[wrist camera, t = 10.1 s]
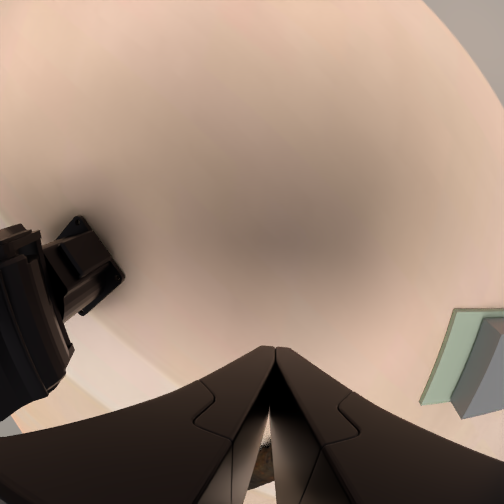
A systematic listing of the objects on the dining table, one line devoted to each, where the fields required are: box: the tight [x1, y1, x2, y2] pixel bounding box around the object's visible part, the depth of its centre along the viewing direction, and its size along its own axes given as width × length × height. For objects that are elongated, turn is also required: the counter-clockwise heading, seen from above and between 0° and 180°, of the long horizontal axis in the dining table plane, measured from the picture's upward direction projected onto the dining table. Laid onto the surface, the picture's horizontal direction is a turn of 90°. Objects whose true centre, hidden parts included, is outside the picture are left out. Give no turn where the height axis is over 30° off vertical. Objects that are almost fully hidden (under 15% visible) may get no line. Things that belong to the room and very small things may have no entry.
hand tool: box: [247, 443, 275, 490], centre depth 26 cm, size 19×4×5 cm, turn 132°
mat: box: [419, 309, 504, 406], centre depth 21 cm, size 14×10×1 cm
